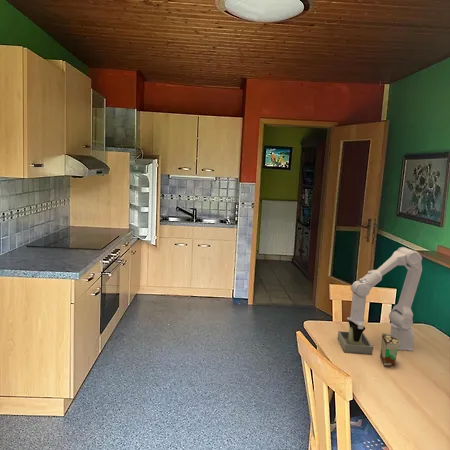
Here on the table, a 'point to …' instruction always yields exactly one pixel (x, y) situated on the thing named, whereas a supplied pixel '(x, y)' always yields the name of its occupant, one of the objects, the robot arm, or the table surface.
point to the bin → (352, 348)
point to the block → (350, 337)
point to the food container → (389, 350)
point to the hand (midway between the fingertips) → (354, 338)
